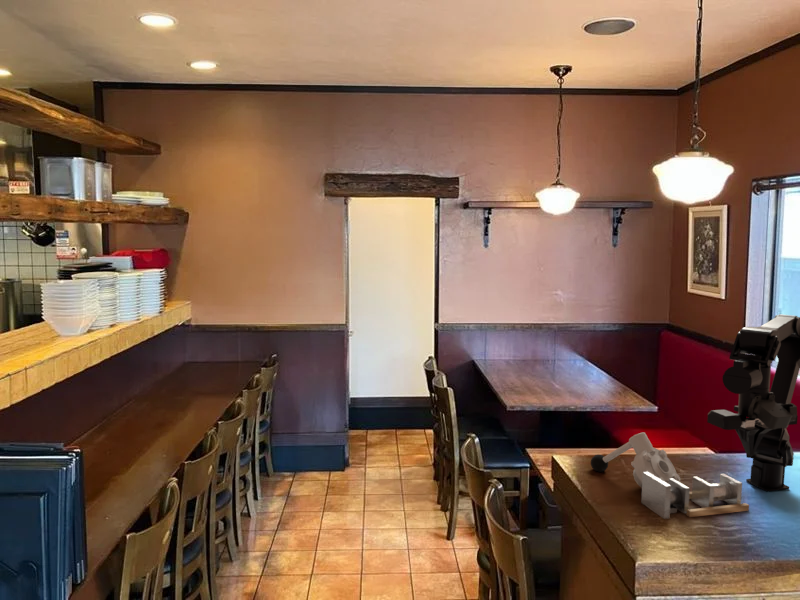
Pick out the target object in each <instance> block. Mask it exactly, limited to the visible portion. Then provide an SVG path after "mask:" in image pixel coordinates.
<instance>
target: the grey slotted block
mask: <svg viewBox="0 0 800 600" xmlns="http://www.w3.org/2000/svg"><path fill="white" fill-rule="evenodd" d="M691 485H692V486H691V491H692V499H690V500H691V502H694V504H696V505H698V506H699V507H701V508H706V507H714V502H718V501H724V502H726V503H727V504H728V505H733V504H742V494H743V493H742V491H743V482H742V481H739V480H737V479H735V478H733V477H731V476H729V475H727V474H725V473H719V482H715V483H709V482H708V481H706V480H705V479H703V478H700V477H698V476H696V475H695V476H692V484H691Z"/></svg>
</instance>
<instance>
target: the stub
mask: <svg viewBox="0 0 800 600" xmlns="http://www.w3.org/2000/svg"><path fill="white" fill-rule="evenodd" d="M690 489H691V487H688V486H687V485H685V484H684V483H682V482H681V481H680V482H679V481H677V480H675V479H673V478H671V479H669V484H667V483H666V482H664V481H662V480H661V479H659V478H657V477H656V476H654V475H652V474H651V473H649V472H643V478H642V488H641V500H640V501H641V502H640V503H641V504H642V505H643V506H645V507H647V508H648V510H649V509H650V511H652V512H654V513H655V514H657V515H658V516H659V517H661V518H662V519H664V520H666V519H670V514H677V512H678V511H680V513H683V514H687V510H688V509H690V508H689V507H690V506H689V505H690V499H689V493H690V492H691V491H690Z"/></svg>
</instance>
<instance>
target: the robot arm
mask: <svg viewBox="0 0 800 600" xmlns="http://www.w3.org/2000/svg"><path fill="white" fill-rule="evenodd" d="M776 358H777V361H778V362H777V365H776V369H775V372H774V376H773V380H772V383H771V374H772V373H771V372H772V371H771V369H772V363H773V362H775V360H776ZM729 360H732V361H733V365H732V366H731V367H728V368H727V369H726V370H725V371H724V373H723V374H722V383H723V386H724V387H725V388H726V390H728V391H729V392H730V393H733V394H736V395H738V405H734V406H733V411H735V412H736V413H734V412H732V411H730V410H727V409H715V410H714V409H713V410H712V409H711V410H710V411H709V412H708V413H707V421H706V422H707V423H708V424H710V425H712V426H715V427H718V428H720V429H722V430H726V431H731V430H733V431H734V430H735V432H736V434H737V435H738V437H739V440H740V442H741V445H742V448H743V449H744V451H745V454H746V455H745V456H746V458H748V459H752V465H751V466H750V467H751V468H750V478H746V479H745V480H746V482H747V483H749V484H751V485H753V486H755V487H756V488H759V489H761V490H763V491H765V492H773V491H774V492H776V491H784V490H789V489H790V486H788V485H786V484H785V473H786V468H787V467H793V465H794V464H793V463H794V456H795V454H794V451H793V448H792V445H791V443H790V435H789V433H788V430H787V429H788V427H789V426H791V425H792V426H794V425H798V418H799V417H798V406H797V405H796V404H794V403H792V399H793V395H794V391H795V388H796V384H797V380H798V376H799V373H800V316H798V315H793V314H792V315H791V314H783V313H782V314H777V315H775V316H774V317H773V318H772V319H771V320H769V321H768V322H765V323H764V324H762V325H760V326H745V327H742V328H741V329H740V331H738V333H736V337H735V338H734V343H733V346H732V348H731V351H730V355H729ZM770 386H771V387H770Z"/></svg>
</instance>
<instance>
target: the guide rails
mask: <svg viewBox="0 0 800 600" xmlns="http://www.w3.org/2000/svg"><path fill="white" fill-rule="evenodd" d="M689 500H692V490H691V491H690V493H689ZM749 510H750V504H748V503H746V502H744V503H742V502H741V504H733V505H731V504H727V505H726V504H725V505H717V506H713V507H706V508H703V507H701V508H700V507H698V508H689V509H688V510H687V513H686V516H687V517H689V518H694V517H695V518H696V517H703V516H712V515H720V514H729V513H737V512H738V513H739V512H746V511H747V512H749Z"/></svg>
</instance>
